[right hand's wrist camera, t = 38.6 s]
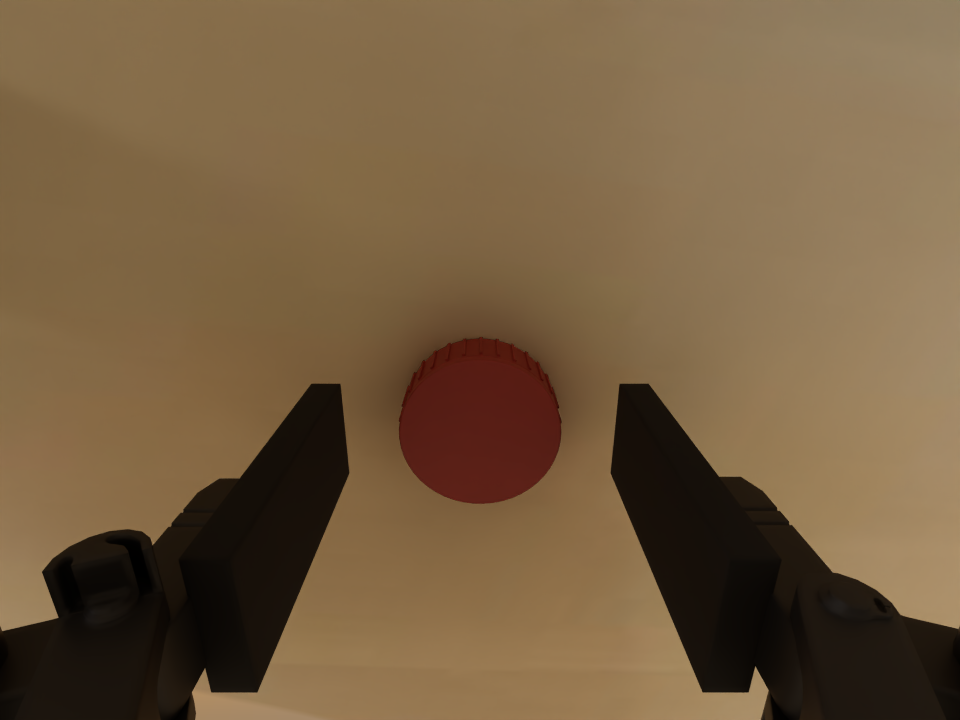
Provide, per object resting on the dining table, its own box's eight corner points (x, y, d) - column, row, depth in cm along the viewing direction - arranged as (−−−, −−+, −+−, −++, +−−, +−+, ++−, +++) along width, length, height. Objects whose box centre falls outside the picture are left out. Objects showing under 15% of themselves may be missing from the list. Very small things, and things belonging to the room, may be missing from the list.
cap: (570, 449, 16) (581, 482, 15) (433, 486, 17) (428, 522, 15) (532, 317, 15) (539, 336, 13) (383, 361, 15) (371, 385, 14)
